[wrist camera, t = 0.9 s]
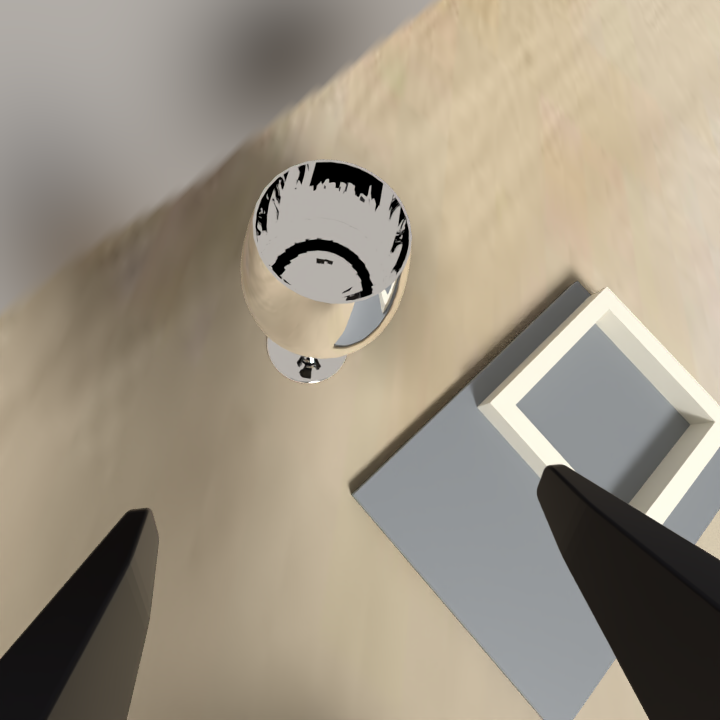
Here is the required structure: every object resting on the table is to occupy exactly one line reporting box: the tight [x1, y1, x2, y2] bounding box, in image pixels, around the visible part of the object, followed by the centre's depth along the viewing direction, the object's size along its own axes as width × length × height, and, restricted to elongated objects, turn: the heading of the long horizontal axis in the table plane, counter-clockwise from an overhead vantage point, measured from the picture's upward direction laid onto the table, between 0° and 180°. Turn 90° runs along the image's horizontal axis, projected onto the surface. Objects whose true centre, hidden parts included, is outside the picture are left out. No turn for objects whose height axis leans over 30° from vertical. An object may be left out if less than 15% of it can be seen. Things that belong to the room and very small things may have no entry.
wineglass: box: [240, 160, 412, 384], centre depth 18 cm, size 6×6×12 cm
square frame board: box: [351, 281, 720, 720], centre depth 24 cm, size 15×19×2 cm
